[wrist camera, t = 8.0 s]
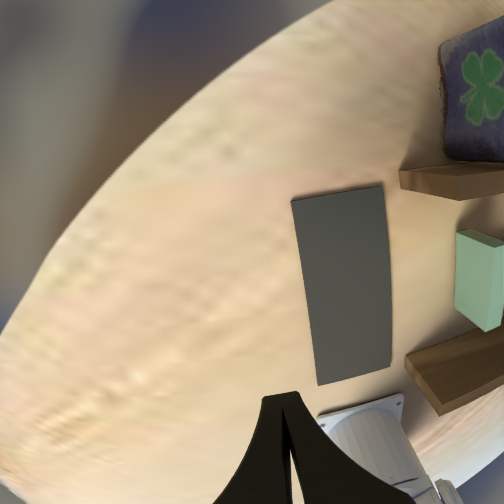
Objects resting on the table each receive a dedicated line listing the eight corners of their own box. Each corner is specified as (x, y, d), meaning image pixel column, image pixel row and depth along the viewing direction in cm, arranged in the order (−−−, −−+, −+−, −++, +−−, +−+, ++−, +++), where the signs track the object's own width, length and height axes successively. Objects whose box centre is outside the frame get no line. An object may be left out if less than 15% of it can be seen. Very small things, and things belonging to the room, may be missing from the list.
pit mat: (388, 364, 22) (390, 366, 22) (317, 383, 23) (318, 386, 22) (380, 185, 19) (382, 186, 18) (290, 201, 19) (291, 201, 19)
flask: (434, 40, 16) (530, -7, 6) (463, 52, 16) (560, 18, 6) (438, 157, 18) (557, 166, 8) (467, 164, 18) (580, 179, 8)
